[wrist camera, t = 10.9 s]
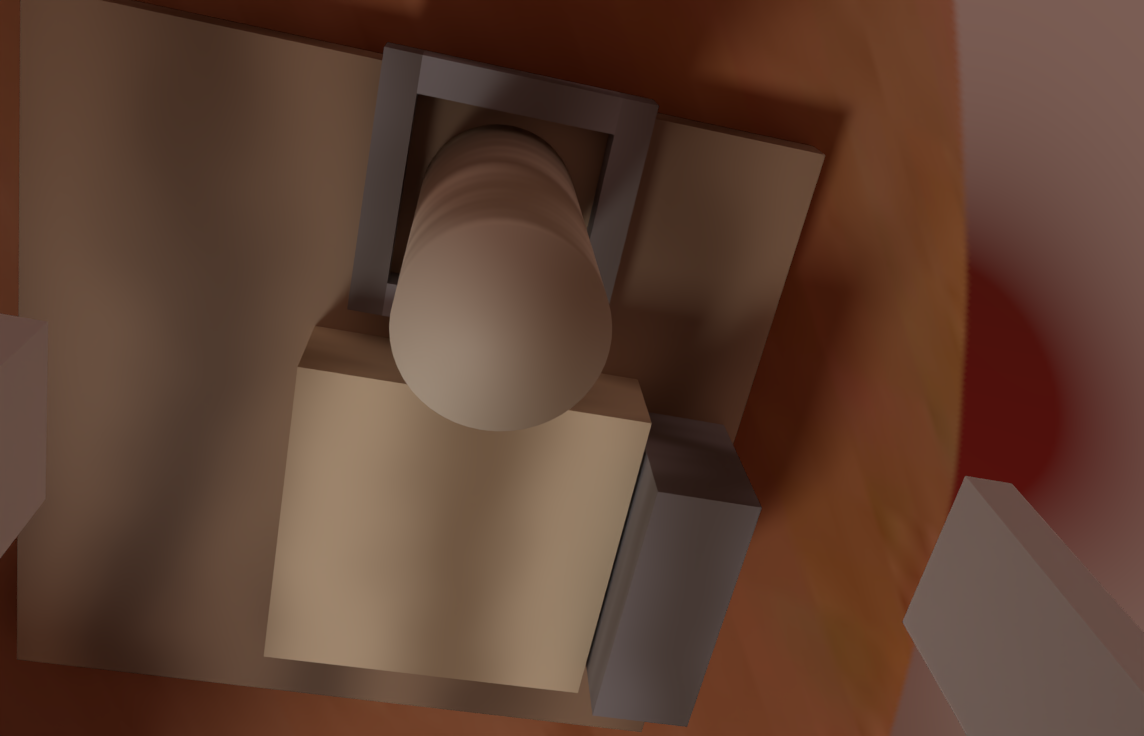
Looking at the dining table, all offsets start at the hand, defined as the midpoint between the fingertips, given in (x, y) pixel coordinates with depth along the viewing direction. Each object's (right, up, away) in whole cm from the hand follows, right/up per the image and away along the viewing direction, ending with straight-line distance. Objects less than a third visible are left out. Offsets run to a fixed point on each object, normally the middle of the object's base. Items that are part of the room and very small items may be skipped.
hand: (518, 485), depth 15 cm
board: (-5, 0, +18) cm, 19 cm away
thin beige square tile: (-3, -2, +18) cm, 19 cm away
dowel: (-1, +6, +15) cm, 16 cm away
